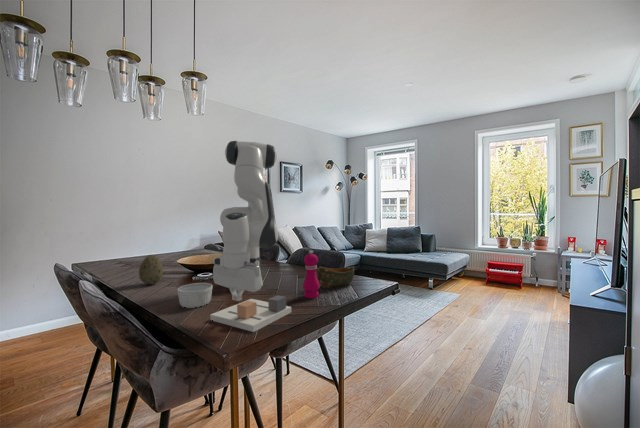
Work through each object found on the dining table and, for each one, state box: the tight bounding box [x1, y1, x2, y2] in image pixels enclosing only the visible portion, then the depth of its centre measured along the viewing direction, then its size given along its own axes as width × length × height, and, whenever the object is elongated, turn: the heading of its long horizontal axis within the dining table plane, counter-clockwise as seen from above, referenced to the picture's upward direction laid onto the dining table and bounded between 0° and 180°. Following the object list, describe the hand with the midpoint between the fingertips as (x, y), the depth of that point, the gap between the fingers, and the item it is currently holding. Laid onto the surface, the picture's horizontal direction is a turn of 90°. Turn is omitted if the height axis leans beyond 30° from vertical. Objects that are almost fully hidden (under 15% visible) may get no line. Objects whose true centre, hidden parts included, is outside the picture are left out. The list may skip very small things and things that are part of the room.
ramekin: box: [176, 282, 213, 309], centre depth 122 cm, size 13×13×7 cm
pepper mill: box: [302, 249, 321, 299], centre depth 130 cm, size 7×7×20 cm
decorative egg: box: [138, 254, 164, 285], centre depth 154 cm, size 11×11×15 cm
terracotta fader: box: [237, 300, 257, 319], centre depth 102 cm, size 4×5×4 cm
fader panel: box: [209, 298, 293, 333], centre depth 107 cm, size 20×20×2 cm
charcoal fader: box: [267, 295, 287, 312], centre depth 108 cm, size 4×5×4 cm
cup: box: [316, 266, 355, 290], centre depth 146 cm, size 13×20×10 cm, turn 87°
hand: (237, 299), depth 104 cm, fingers closed
